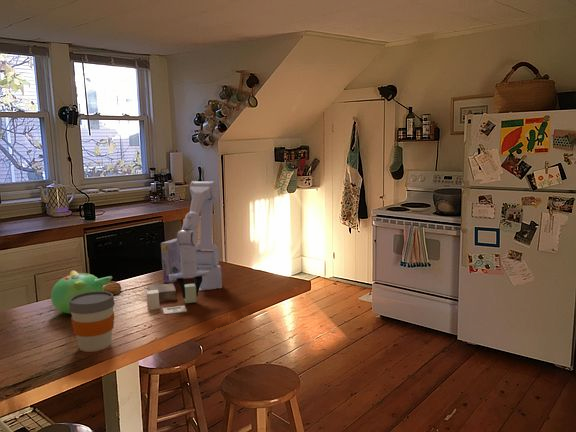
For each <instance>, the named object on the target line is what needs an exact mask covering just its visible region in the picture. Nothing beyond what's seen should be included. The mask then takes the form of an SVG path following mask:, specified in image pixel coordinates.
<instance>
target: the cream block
mask: <svg viewBox="0 0 576 432" xmlns="http://www.w3.org/2000/svg"><path fill="white" fill-rule="evenodd" d="M146 305H147V306H146V307H147V310H148V311H152V310H159V309H160V308H161V307H160V302H159V292H158V290H150V291H148V290H146Z"/></svg>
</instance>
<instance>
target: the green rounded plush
mask: <svg viewBox="0 0 576 432" xmlns="http://www.w3.org/2000/svg"><path fill="white" fill-rule="evenodd" d="M112 279H113V276H112V275H110V276H105V277H100V278H98V277H97V276H95V275H94V274H91V273H88V272H87V273H86V272H78V271H76V270H71V271H70V272H69V274H68V275H66V276H64V277H62V278H60V279H59V280H58V281H57V282H56V283H55V284H54V286H53V287H52V290H51V293H50V299H51V303H52V305H53V307H55V309H56V310H58V311H59V312H61V313H64V314H70V315H72V314H71V312H70V311H69V301H70V299H71V298H72V297H73V296H76V295H78V294H82V293H87V292H94V291H104V286H105V284H106V283H108V282H110V281H112Z"/></svg>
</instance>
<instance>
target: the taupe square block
mask: <svg viewBox="0 0 576 432" xmlns="http://www.w3.org/2000/svg"><path fill="white" fill-rule="evenodd" d="M150 290H158V292H159V303H160V302H168V301H175V300H177V290H176V287H175V284H174V282H173V283H164V284H163V283H162V284H153V285H147V291H150Z"/></svg>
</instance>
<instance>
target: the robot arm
mask: <svg viewBox="0 0 576 432" xmlns="http://www.w3.org/2000/svg"><path fill="white" fill-rule="evenodd" d="M189 193H190V197H191V201H190V202H191V203H190V207H189V208H190V209H189V212H187V213H186V214H185V216H184V220H183V223H182V226H181V229H180V230H178V232H177V233H176V238H177V243H178V248H179V250H180V259H181V272H180V273H175V274H169V280H170V281H172V280H177V281H176V282H177V284H178V286H179V288H180V292H181V294H182V295H181V296H182V299H184V298H185V288H184V285H185V279H194V280H193V281H194V284H195V286H196V298H197V297H198V295H199V291H206V290H207V291H208V290H216V289H217V288H218V289H223V283H222V282H223V279H222V268H221V265H220V264H219V263H220V258H221V257H220V252H219V250H220V249H219V247H218V246H217V245H216V244H215V243H214V242H213V222H214V221H213V215H214V204H215V202H217V201H218V185H217V182H216V181H215V180H212V181H206V180H205V181H202V180H201V181H200V180H199V181H195V180H192V181H191V182H190V184H189ZM199 226H200V233H199V231H198V229H199ZM199 234H200V236H199ZM199 239H200V240H199ZM198 241H199V243H198ZM218 289H217V290H218Z"/></svg>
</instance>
